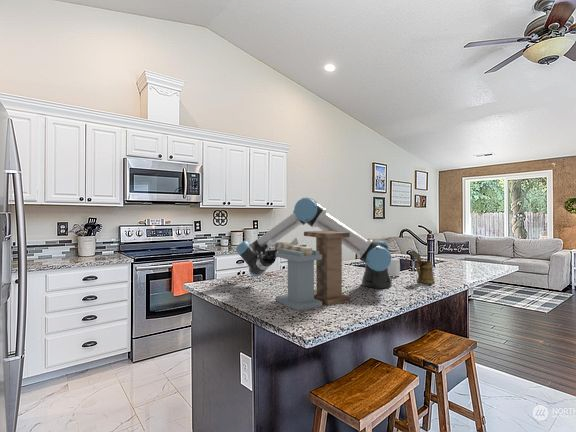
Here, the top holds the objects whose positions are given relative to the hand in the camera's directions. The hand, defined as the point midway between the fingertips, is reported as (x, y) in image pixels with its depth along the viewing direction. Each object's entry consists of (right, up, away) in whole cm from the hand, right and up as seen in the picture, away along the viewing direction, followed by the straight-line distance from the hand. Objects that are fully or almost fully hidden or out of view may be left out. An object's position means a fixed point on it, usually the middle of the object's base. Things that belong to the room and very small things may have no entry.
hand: (284, 241), depth 153 cm
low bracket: (+6, -26, -10) cm, 28 cm away
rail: (+4, -4, -6) cm, 8 cm away
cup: (+63, -25, +50) cm, 84 cm away
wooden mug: (+76, -25, +31) cm, 85 cm away
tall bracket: (+19, -26, -2) cm, 32 cm away
